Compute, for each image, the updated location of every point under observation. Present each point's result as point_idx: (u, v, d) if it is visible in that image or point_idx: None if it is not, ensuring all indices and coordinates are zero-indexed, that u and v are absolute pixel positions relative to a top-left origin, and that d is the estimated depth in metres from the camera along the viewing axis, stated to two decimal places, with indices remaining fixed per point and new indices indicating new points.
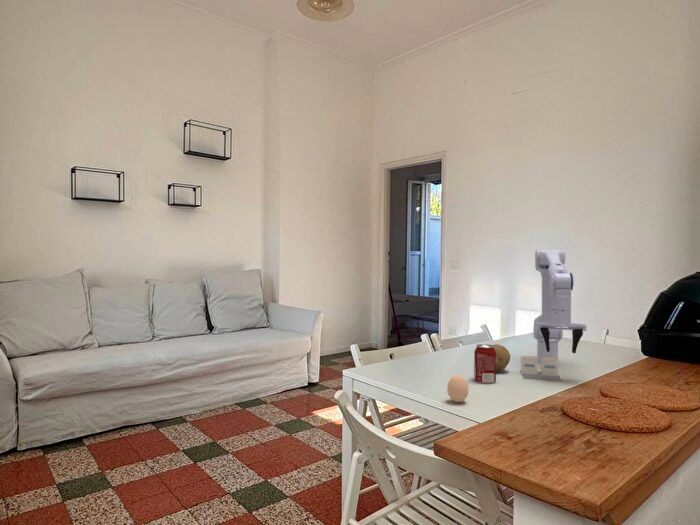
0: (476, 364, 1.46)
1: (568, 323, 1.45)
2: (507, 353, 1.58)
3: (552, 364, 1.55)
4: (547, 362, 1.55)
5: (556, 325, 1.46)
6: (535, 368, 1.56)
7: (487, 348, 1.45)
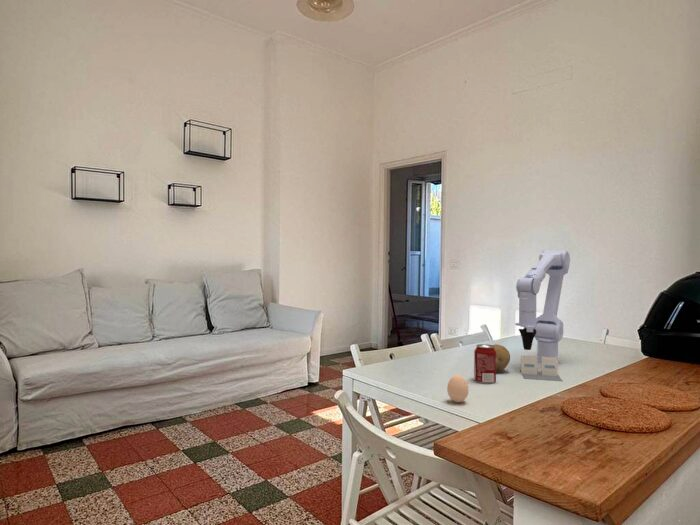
0: (476, 364, 1.46)
1: (521, 323, 1.61)
2: (507, 353, 1.58)
3: (552, 364, 1.55)
4: (547, 362, 1.55)
5: None
6: (535, 368, 1.56)
7: (487, 348, 1.45)
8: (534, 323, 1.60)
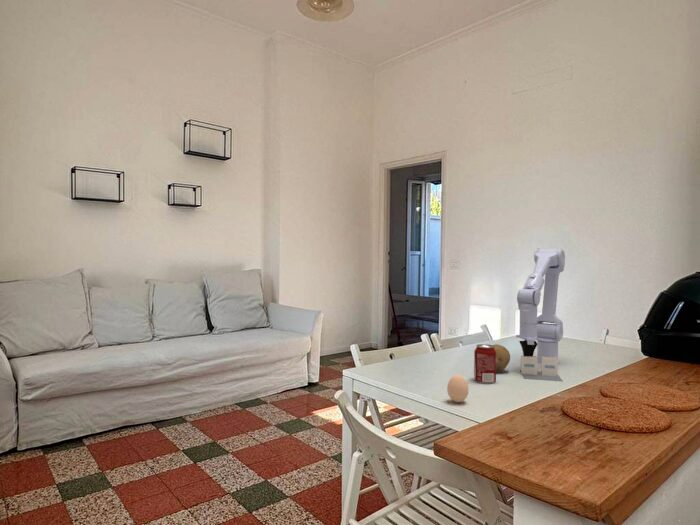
0: (476, 364, 1.46)
1: (522, 335, 1.58)
2: (507, 353, 1.58)
3: (552, 364, 1.55)
4: (547, 362, 1.55)
5: None
6: (535, 368, 1.56)
7: (487, 348, 1.45)
8: (535, 335, 1.57)
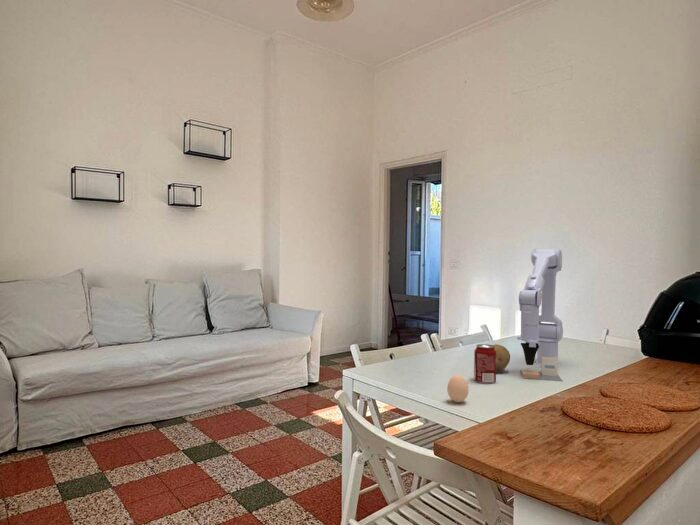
0: (476, 364, 1.46)
1: (523, 337, 1.55)
2: (507, 353, 1.58)
3: (552, 364, 1.55)
4: (547, 362, 1.55)
5: None
6: None
7: (487, 348, 1.45)
8: (537, 337, 1.53)
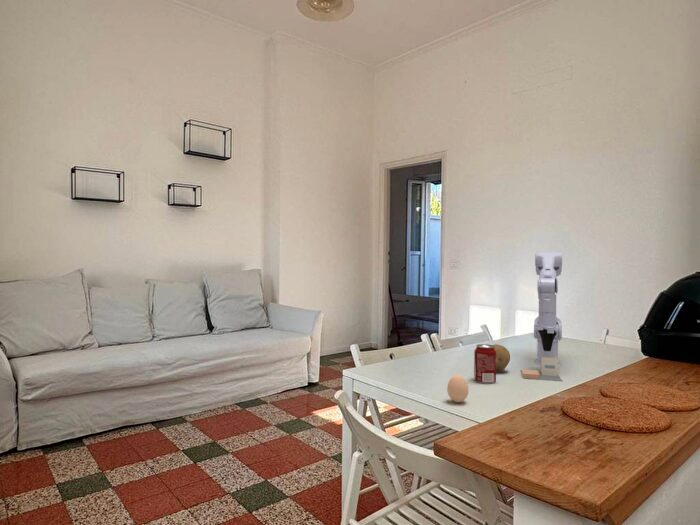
0: (476, 364, 1.46)
1: (541, 324, 1.59)
2: (507, 353, 1.58)
3: (552, 364, 1.55)
4: (547, 362, 1.55)
5: None
6: None
7: (487, 348, 1.45)
8: (554, 324, 1.58)
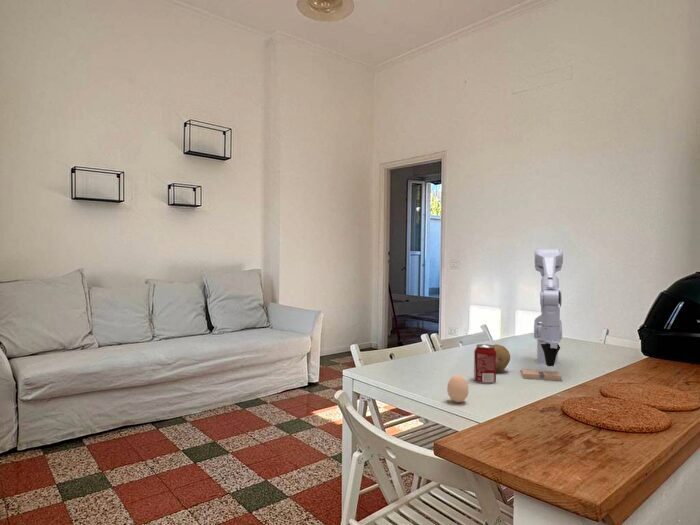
0: (476, 364, 1.46)
1: (544, 338, 1.53)
2: (507, 353, 1.58)
3: None
4: None
5: None
6: None
7: (487, 348, 1.45)
8: (558, 338, 1.52)
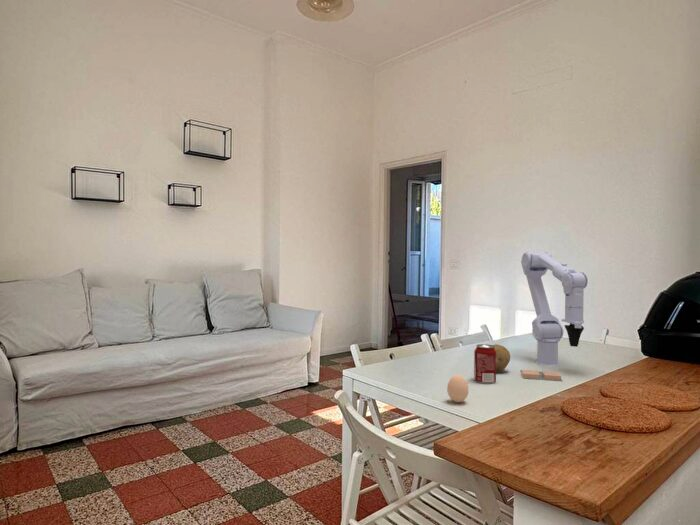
0: (476, 364, 1.46)
1: (568, 319, 1.57)
2: (507, 353, 1.58)
3: None
4: None
5: None
6: None
7: (487, 348, 1.45)
8: (581, 319, 1.56)
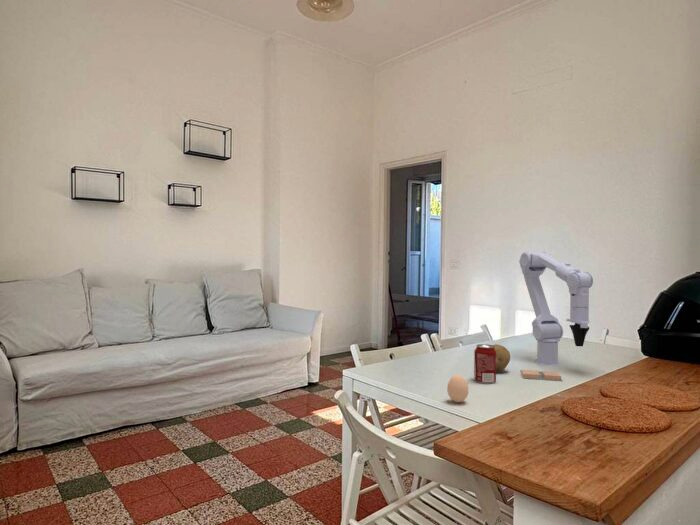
0: (476, 364, 1.46)
1: (573, 318, 1.57)
2: (507, 353, 1.58)
3: None
4: None
5: None
6: None
7: (487, 348, 1.45)
8: (587, 319, 1.56)
